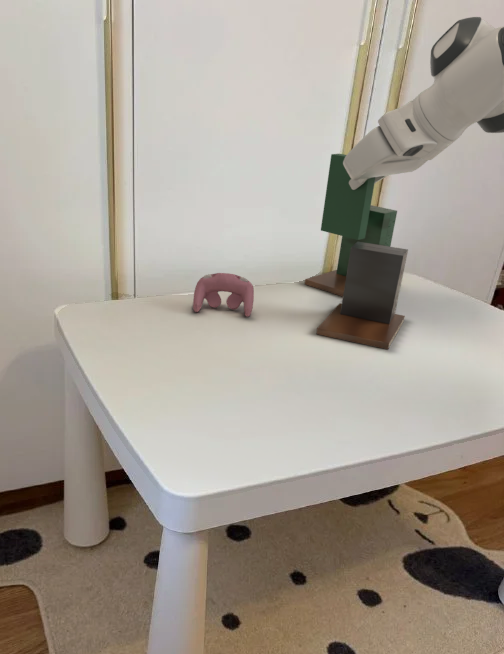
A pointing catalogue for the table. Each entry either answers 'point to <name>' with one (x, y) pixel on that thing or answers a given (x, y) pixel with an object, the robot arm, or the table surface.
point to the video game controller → (226, 283)
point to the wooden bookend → (369, 297)
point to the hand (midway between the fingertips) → (358, 185)
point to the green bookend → (376, 233)
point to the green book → (346, 202)
